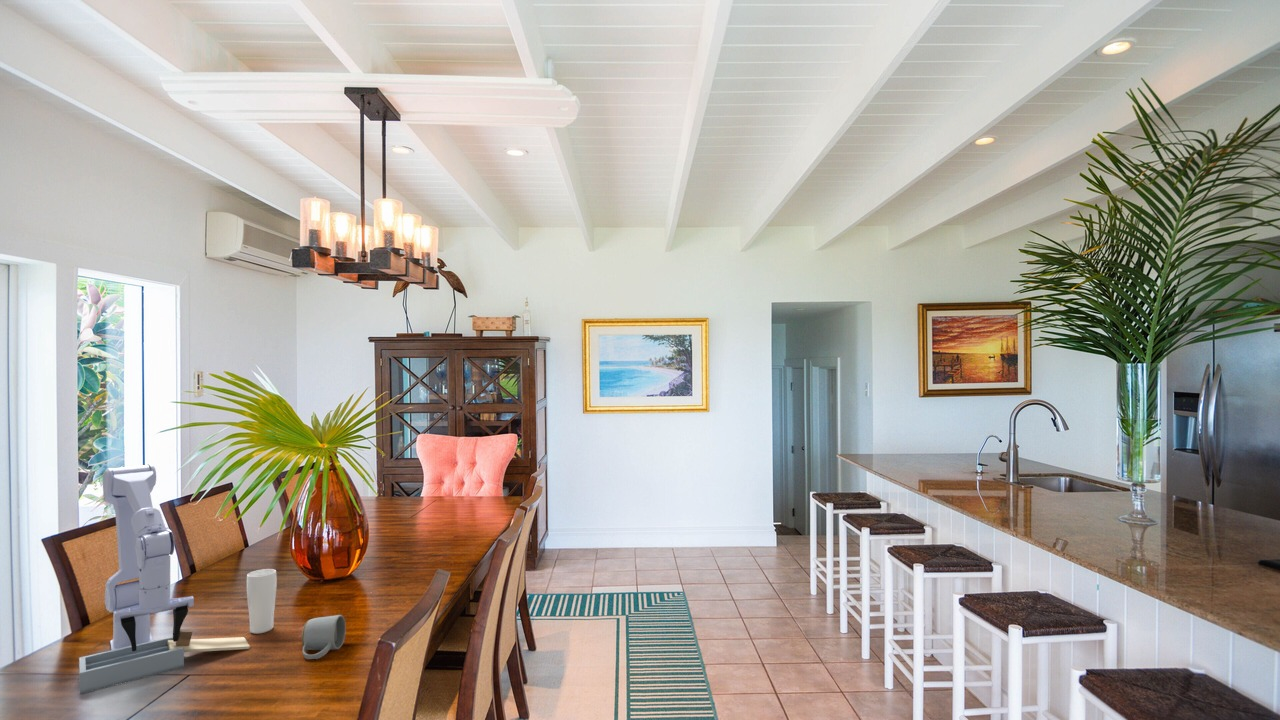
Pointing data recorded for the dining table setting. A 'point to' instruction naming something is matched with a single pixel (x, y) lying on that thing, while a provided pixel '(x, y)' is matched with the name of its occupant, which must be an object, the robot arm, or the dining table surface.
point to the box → (128, 664)
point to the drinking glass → (261, 599)
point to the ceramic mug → (323, 635)
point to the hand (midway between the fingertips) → (154, 644)
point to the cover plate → (206, 643)
